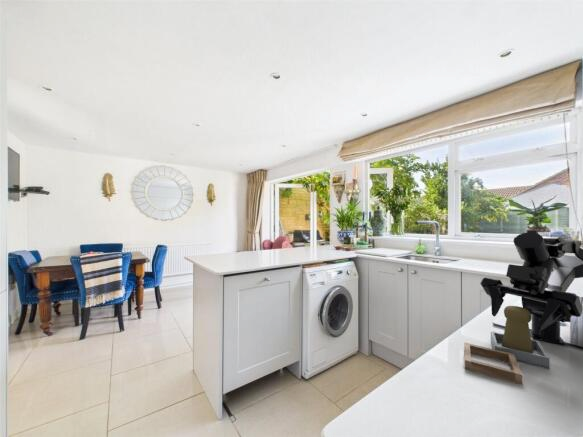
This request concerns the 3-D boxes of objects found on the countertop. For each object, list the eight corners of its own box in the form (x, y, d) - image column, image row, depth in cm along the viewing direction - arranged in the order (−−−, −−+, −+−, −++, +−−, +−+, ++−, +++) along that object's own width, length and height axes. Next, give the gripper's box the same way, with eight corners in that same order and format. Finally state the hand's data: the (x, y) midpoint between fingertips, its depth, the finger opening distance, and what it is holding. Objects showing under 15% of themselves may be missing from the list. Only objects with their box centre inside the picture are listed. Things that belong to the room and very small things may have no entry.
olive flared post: (540, 358, 60) (540, 312, 60) (511, 356, 61) (511, 310, 61) (522, 346, 66) (522, 304, 65) (496, 343, 67) (496, 302, 67)
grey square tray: (490, 340, 70) (490, 331, 70) (538, 350, 64) (538, 340, 64) (494, 356, 62) (494, 345, 62) (549, 369, 56) (549, 358, 56)
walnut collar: (464, 350, 64) (464, 342, 64) (513, 362, 59) (513, 353, 59) (465, 368, 56) (465, 360, 56) (522, 384, 51) (522, 375, 51)
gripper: (484, 249, 73) (461, 292, 68) (578, 258, 56) (558, 316, 51) (497, 273, 77) (477, 315, 72) (590, 289, 60) (572, 345, 55)
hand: (514, 321), depth 62 cm, fingers open, 9 cm apart
